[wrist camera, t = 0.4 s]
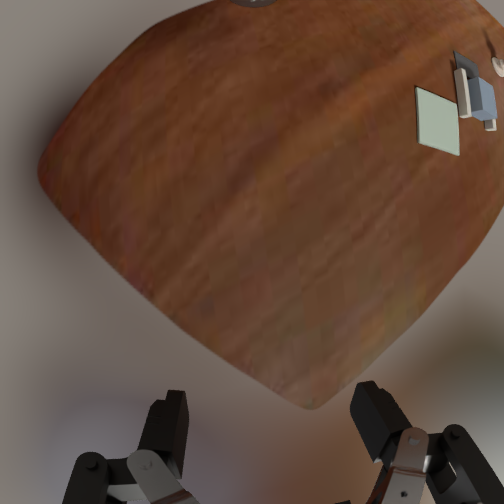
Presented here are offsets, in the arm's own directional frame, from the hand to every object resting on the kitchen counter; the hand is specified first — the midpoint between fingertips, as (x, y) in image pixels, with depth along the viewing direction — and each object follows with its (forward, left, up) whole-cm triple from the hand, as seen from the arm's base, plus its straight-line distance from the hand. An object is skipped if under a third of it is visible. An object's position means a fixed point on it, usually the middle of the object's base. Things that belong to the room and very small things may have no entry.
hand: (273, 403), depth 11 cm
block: (-32, +43, -29) cm, 61 cm away
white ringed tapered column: (-47, +57, -29) cm, 79 cm away
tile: (-24, +32, -29) cm, 49 cm away
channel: (-35, +43, -29) cm, 62 cm away
